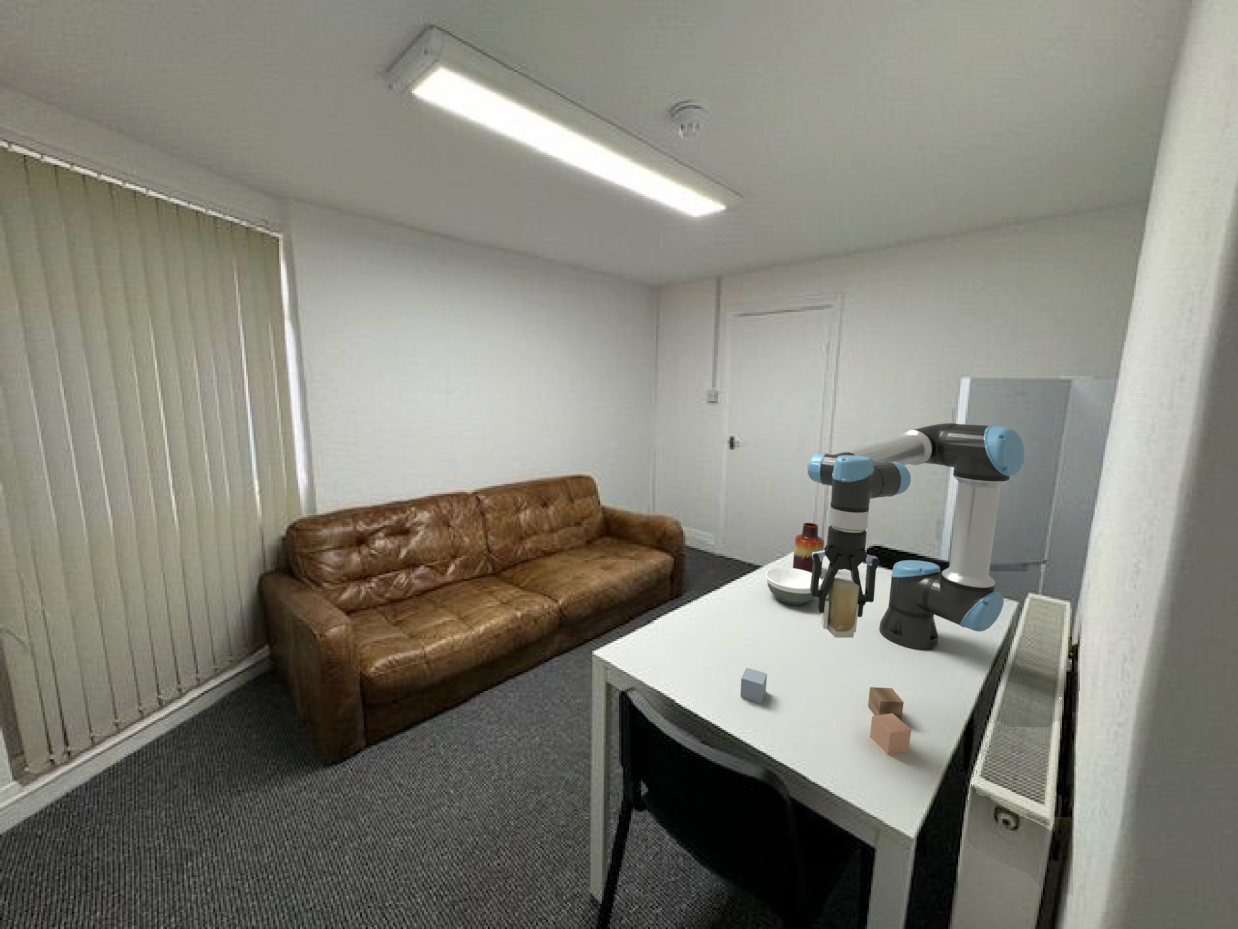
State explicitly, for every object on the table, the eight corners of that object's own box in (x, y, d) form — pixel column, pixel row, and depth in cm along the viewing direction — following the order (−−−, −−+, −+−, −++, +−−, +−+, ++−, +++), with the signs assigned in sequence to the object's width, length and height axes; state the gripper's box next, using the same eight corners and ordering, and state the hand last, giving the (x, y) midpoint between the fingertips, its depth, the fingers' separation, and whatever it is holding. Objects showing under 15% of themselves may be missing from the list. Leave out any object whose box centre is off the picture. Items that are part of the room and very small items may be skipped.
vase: (795, 577, 187) (799, 527, 184) (790, 567, 198) (793, 520, 194) (824, 579, 185) (828, 529, 182) (817, 569, 196) (821, 521, 193)
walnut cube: (889, 707, 111) (892, 688, 110) (901, 722, 106) (903, 702, 105) (867, 706, 111) (870, 687, 111) (878, 721, 106) (880, 701, 106)
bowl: (824, 596, 170) (826, 574, 169) (814, 617, 155) (817, 593, 153) (771, 584, 180) (773, 563, 179) (757, 602, 165) (759, 580, 163)
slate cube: (765, 692, 116) (767, 673, 115) (761, 703, 112) (762, 684, 111) (745, 686, 118) (746, 667, 118) (740, 697, 114) (741, 678, 113)
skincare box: (821, 624, 109) (825, 573, 107) (840, 624, 110) (844, 573, 108) (835, 639, 103) (840, 585, 101) (855, 638, 103) (860, 585, 101)
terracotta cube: (890, 734, 103) (892, 713, 102) (908, 751, 98) (911, 729, 97) (869, 737, 102) (872, 716, 101) (887, 754, 97) (890, 733, 96)
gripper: (888, 525, 104) (877, 624, 108) (800, 519, 108) (792, 615, 112) (900, 536, 97) (888, 641, 101) (805, 529, 101) (797, 630, 105)
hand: (838, 627), depth 106 cm, fingers closed on skincare box, 5 cm apart
